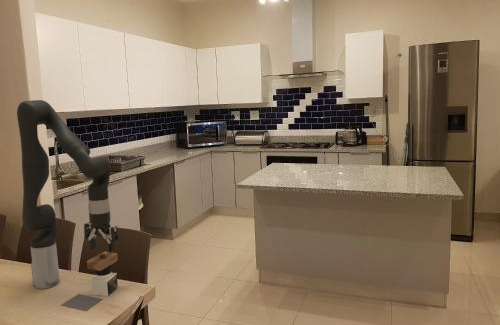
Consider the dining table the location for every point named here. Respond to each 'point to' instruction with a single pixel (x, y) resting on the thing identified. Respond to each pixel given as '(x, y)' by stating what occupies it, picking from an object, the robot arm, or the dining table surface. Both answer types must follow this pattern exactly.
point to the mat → (82, 302)
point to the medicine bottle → (104, 282)
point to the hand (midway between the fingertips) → (102, 250)
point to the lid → (102, 261)
